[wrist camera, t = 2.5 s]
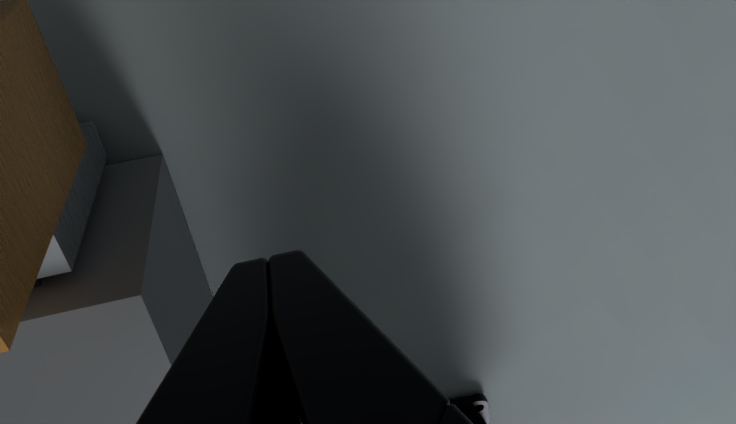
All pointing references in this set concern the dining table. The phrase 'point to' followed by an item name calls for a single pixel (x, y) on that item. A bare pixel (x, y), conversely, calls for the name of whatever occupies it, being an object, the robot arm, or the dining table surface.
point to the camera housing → (109, 309)
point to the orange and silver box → (38, 167)
